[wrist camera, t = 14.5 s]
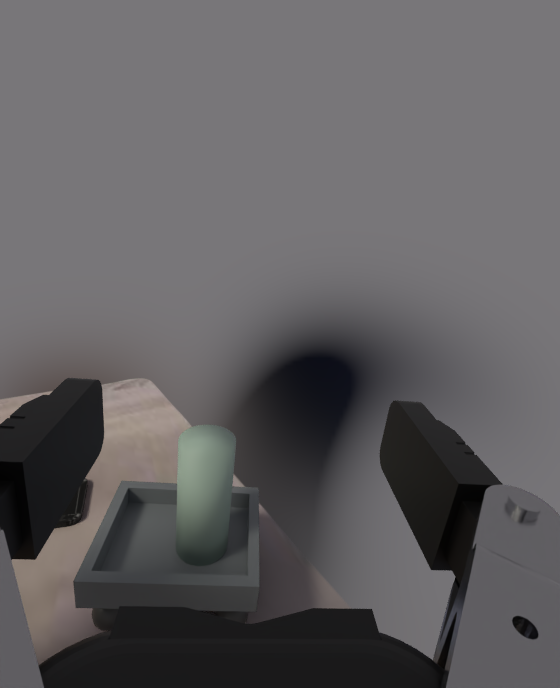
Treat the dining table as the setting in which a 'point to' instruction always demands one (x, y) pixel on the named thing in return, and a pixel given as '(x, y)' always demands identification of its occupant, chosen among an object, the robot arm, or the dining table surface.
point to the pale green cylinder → (204, 493)
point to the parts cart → (167, 558)
